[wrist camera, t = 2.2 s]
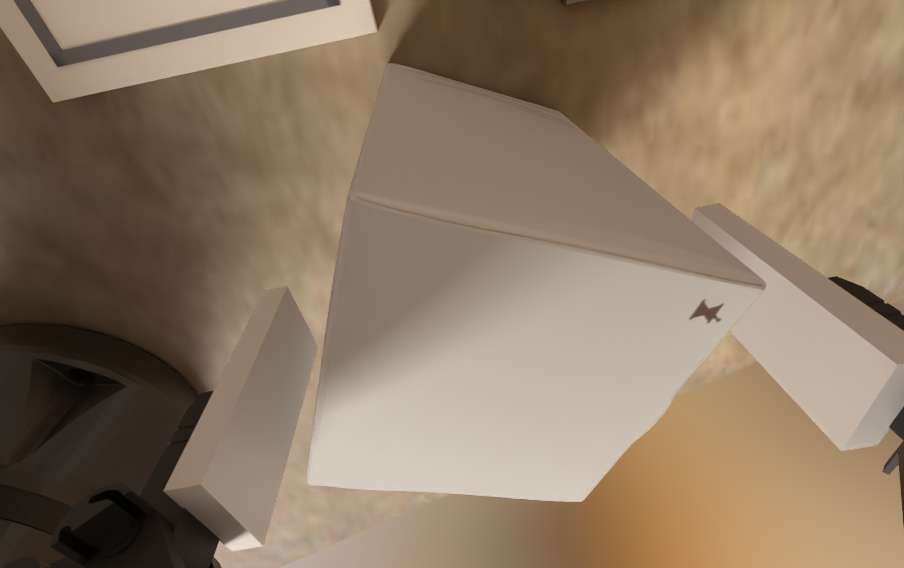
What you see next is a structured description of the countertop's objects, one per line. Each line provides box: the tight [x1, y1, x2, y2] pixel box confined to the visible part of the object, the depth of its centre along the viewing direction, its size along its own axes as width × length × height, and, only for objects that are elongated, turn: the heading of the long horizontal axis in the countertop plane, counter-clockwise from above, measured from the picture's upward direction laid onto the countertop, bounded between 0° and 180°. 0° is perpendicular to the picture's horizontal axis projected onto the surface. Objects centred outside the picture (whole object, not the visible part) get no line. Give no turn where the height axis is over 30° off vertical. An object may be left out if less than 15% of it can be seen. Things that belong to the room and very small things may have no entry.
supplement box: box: [307, 63, 766, 502], centre depth 16 cm, size 9×9×15 cm
